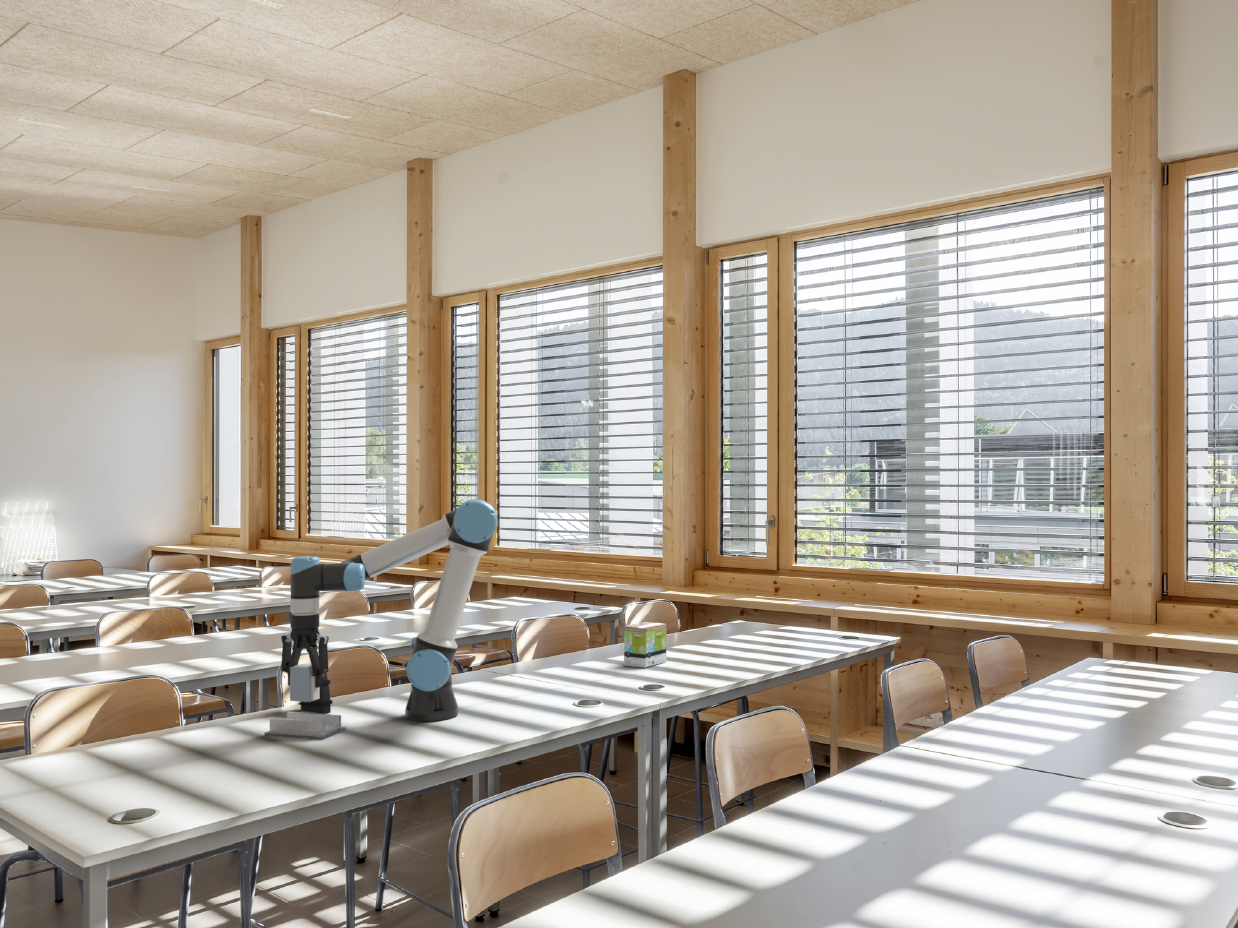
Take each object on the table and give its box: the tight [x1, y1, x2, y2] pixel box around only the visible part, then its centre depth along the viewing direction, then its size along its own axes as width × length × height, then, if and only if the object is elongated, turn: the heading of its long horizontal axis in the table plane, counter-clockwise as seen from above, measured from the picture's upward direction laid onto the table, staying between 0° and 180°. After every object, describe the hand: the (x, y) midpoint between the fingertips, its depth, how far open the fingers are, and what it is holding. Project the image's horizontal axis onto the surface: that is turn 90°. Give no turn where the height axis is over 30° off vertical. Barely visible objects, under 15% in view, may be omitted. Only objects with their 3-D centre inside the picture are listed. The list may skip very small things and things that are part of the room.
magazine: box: [298, 672, 333, 714], centre depth 288 cm, size 4×13×15 cm, turn 54°
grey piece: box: [264, 711, 347, 741], centre depth 262 cm, size 18×11×4 cm, turn 73°
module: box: [289, 663, 314, 703], centre depth 262 cm, size 6×4×9 cm
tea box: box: [623, 621, 668, 669], centre depth 358 cm, size 15×10×15 cm, turn 147°
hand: (304, 698), depth 262 cm, fingers closed on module, 6 cm apart
